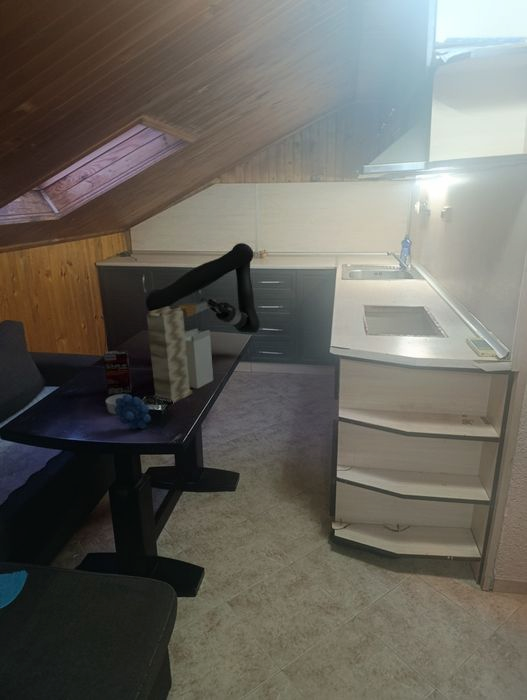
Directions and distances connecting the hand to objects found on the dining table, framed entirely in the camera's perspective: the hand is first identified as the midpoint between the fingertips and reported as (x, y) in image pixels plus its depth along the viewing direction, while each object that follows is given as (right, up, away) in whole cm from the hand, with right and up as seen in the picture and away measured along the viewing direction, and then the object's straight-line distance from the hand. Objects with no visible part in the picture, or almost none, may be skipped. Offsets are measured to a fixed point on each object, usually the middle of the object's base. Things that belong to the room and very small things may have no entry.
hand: (205, 301), depth 183 cm
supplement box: (-33, -35, -1) cm, 48 cm away
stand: (-11, -36, -8) cm, 39 cm away
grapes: (-19, -45, -33) cm, 59 cm away
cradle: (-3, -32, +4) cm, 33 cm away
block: (-2, -4, -3) cm, 5 cm away
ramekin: (-28, -41, -18) cm, 52 cm away
